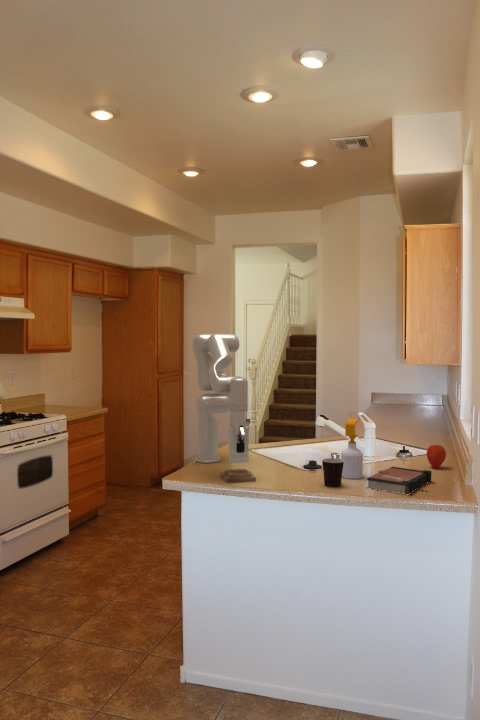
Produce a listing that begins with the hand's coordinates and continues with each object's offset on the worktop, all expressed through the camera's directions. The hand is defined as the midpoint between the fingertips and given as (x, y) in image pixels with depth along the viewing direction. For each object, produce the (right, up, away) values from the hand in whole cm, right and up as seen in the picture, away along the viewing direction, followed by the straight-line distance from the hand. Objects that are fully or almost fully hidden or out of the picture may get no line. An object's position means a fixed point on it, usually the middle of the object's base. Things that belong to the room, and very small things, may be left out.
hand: (238, 450), depth 246 cm
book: (+65, -13, -7) cm, 66 cm away
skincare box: (0, -5, 0) cm, 5 cm away
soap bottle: (+48, -12, +6) cm, 50 cm away
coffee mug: (+37, -13, -10) cm, 40 cm away
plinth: (0, -12, +1) cm, 12 cm away
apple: (+90, -12, +24) cm, 94 cm away
